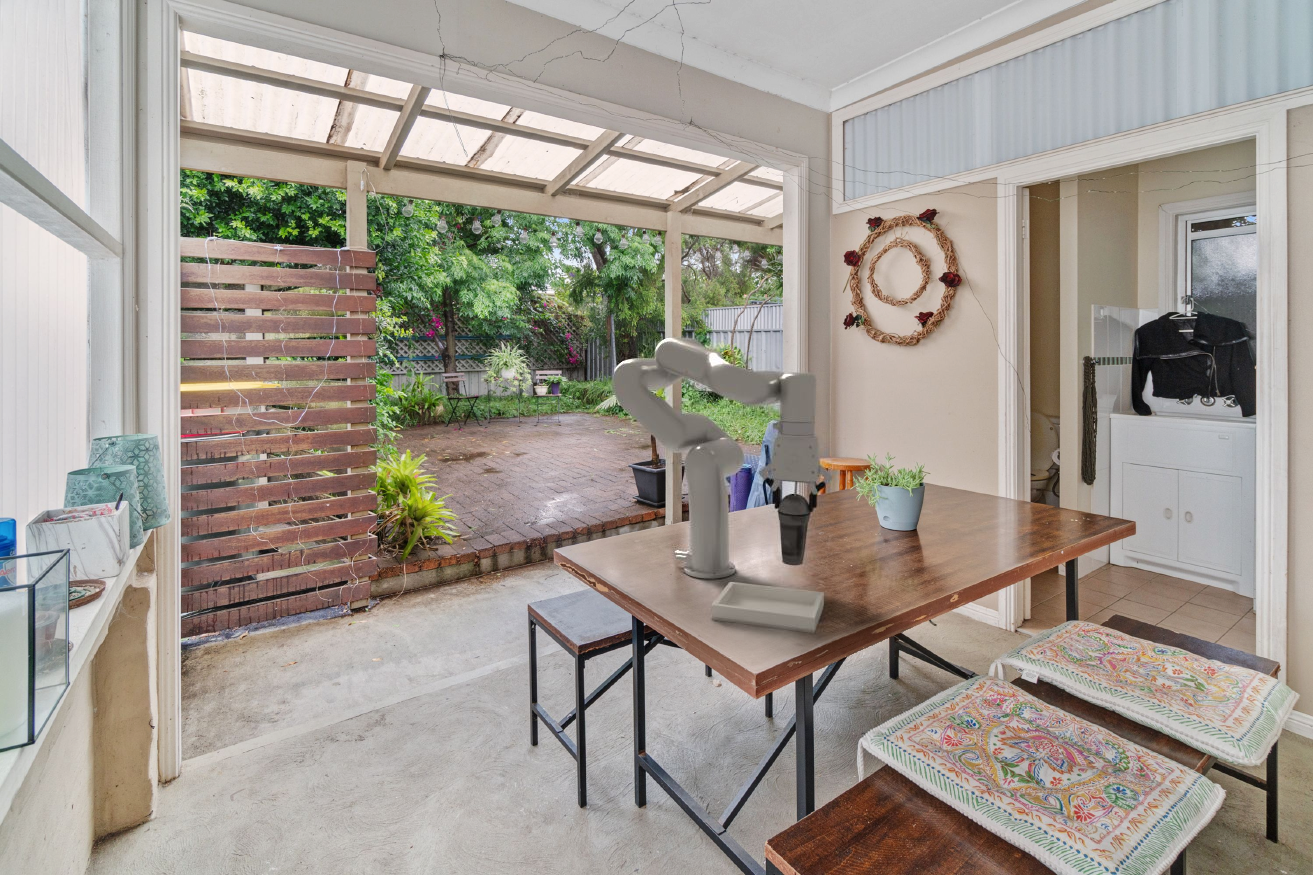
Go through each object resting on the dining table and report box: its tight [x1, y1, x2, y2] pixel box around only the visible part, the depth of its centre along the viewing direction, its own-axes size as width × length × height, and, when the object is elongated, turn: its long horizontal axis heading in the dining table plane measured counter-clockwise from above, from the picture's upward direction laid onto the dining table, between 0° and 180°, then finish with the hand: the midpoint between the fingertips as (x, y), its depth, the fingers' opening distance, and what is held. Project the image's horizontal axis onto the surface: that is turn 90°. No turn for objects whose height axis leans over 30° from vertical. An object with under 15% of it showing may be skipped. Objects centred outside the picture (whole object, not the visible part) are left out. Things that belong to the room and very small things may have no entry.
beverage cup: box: [777, 482, 812, 566], centre depth 140 cm, size 7×7×20 cm
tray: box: [710, 581, 825, 634], centre depth 127 cm, size 20×14×3 cm
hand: (794, 508), depth 139 cm, fingers closed on beverage cup, 6 cm apart
